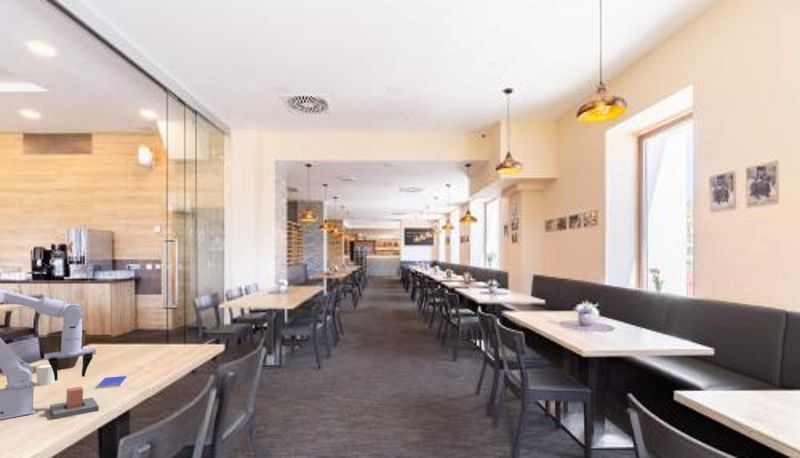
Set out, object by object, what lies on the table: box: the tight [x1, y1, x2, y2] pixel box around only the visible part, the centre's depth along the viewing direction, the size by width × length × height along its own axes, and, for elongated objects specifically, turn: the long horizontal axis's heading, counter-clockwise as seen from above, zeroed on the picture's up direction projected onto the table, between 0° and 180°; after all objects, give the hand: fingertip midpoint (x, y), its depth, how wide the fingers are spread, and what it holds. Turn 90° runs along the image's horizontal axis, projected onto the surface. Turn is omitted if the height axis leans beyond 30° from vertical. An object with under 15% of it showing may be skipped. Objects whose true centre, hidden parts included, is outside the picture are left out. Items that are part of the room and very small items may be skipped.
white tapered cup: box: [35, 363, 56, 386], centre depth 181 cm, size 7×7×7 cm
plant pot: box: [46, 329, 88, 370], centre depth 206 cm, size 15×15×16 cm
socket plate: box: [49, 396, 100, 420], centre depth 151 cm, size 12×12×2 cm
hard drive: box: [96, 375, 128, 389], centre depth 182 cm, size 2×8×12 cm
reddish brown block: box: [65, 386, 84, 409], centre depth 151 cm, size 4×4×7 cm
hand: (69, 378), depth 155 cm, fingers open, 7 cm apart
